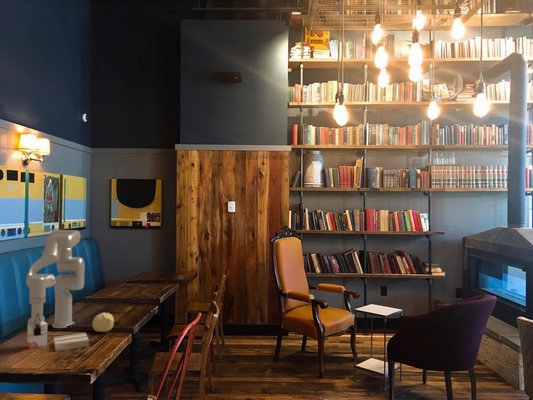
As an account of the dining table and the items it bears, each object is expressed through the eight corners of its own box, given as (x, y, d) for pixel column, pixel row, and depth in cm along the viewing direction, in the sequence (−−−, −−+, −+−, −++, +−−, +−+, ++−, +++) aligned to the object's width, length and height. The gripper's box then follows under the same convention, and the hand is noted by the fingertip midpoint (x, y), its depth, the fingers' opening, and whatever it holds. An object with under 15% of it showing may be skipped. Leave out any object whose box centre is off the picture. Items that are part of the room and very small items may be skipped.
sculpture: (113, 332, 248) (113, 314, 248) (91, 334, 244) (91, 315, 244) (114, 327, 259) (114, 309, 259) (93, 329, 255) (93, 311, 255)
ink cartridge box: (29, 348, 219) (29, 320, 219) (26, 346, 223) (27, 318, 223) (47, 345, 225) (47, 317, 225) (44, 343, 229) (44, 315, 229)
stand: (53, 342, 229) (53, 337, 229) (85, 338, 237) (85, 332, 237) (55, 351, 216) (55, 345, 216) (89, 346, 223) (89, 340, 223)
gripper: (29, 297, 230) (29, 330, 230) (29, 303, 215) (29, 339, 215) (45, 296, 234) (44, 328, 233) (46, 302, 219) (45, 337, 218)
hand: (37, 333), depth 224 cm, fingers closed on ink cartridge box, 5 cm apart
